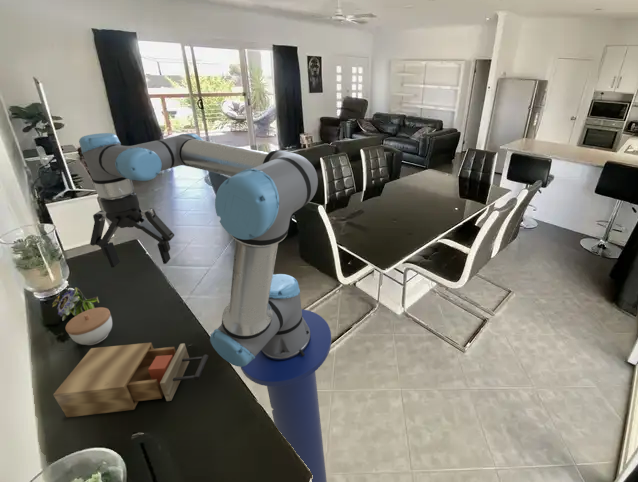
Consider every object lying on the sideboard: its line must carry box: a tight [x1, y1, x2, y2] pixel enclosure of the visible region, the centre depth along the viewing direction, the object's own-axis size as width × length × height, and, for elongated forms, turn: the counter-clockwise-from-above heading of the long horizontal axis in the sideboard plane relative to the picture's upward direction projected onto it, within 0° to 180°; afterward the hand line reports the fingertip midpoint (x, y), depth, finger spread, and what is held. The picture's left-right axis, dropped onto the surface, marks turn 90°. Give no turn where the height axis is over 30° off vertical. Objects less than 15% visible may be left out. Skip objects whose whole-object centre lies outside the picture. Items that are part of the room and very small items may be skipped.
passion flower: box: [51, 287, 100, 322], centre depth 112 cm, size 11×11×12 cm
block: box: [148, 355, 173, 385], centre depth 87 cm, size 4×4×6 cm
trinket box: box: [65, 306, 113, 346], centre depth 101 cm, size 11×11×9 cm
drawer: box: [127, 342, 209, 402], centre depth 87 cm, size 21×12×7 cm, turn 97°
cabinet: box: [52, 342, 155, 418], centre depth 85 cm, size 16×14×9 cm
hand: (141, 263), depth 92 cm, fingers open, 13 cm apart
